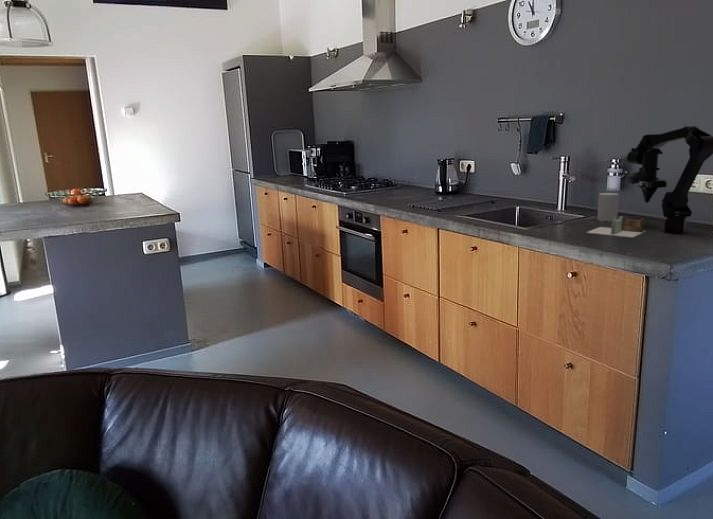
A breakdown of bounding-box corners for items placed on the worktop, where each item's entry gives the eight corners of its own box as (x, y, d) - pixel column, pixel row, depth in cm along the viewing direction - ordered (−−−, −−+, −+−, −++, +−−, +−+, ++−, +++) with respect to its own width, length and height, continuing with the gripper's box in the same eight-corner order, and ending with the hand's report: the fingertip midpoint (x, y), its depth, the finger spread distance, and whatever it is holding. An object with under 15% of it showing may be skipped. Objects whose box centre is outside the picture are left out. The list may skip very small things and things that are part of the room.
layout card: (645, 231, 220) (645, 231, 220) (632, 237, 211) (632, 237, 211) (599, 227, 233) (599, 226, 233) (586, 233, 223) (586, 232, 223)
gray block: (600, 218, 255) (602, 192, 252) (619, 219, 250) (620, 193, 247) (595, 220, 249) (596, 194, 246) (614, 222, 244) (615, 195, 241)
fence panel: (618, 229, 224) (619, 216, 223) (621, 230, 223) (622, 216, 222) (611, 233, 218) (612, 219, 217) (614, 233, 217) (615, 219, 216)
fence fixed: (643, 232, 219) (644, 218, 218) (642, 233, 218) (643, 218, 217) (619, 230, 225) (620, 216, 224) (618, 230, 225) (619, 216, 223)
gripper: (620, 164, 236) (617, 200, 240) (640, 167, 218) (637, 206, 222) (646, 163, 236) (643, 199, 239) (669, 166, 217) (665, 205, 221)
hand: (646, 202), depth 230 cm, fingers closed
